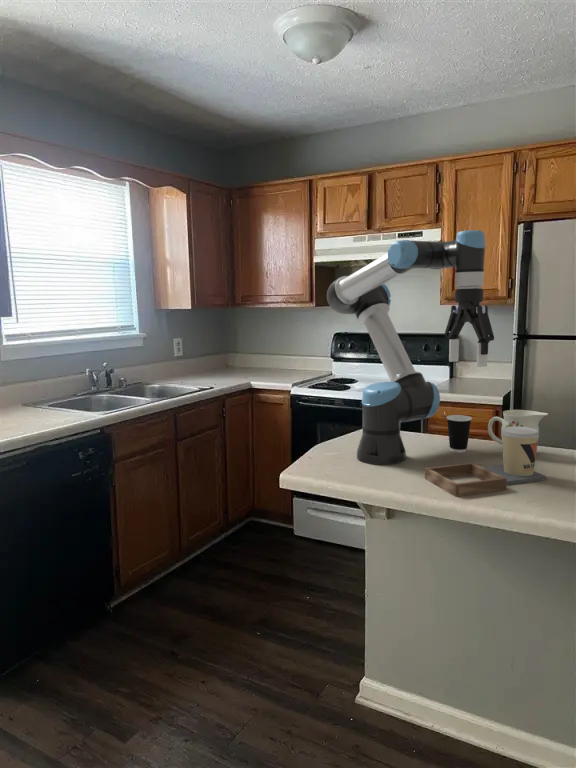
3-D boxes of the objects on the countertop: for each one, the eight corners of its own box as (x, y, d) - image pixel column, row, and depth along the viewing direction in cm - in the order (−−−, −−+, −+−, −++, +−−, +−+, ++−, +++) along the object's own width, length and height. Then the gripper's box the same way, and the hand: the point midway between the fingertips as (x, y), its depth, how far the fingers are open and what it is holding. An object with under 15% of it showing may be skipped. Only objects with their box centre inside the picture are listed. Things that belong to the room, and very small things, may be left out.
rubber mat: (475, 471, 160) (476, 467, 160) (514, 466, 163) (514, 463, 163) (505, 485, 147) (505, 481, 147) (546, 479, 151) (546, 476, 151)
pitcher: (493, 445, 187) (494, 405, 185) (550, 453, 175) (553, 411, 173) (481, 452, 178) (482, 410, 176) (540, 462, 167) (542, 417, 165)
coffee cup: (526, 479, 148) (528, 435, 147) (494, 471, 155) (495, 430, 154) (543, 472, 154) (545, 429, 153) (511, 464, 161) (512, 424, 160)
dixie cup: (476, 450, 180) (477, 417, 179) (460, 455, 176) (461, 421, 174) (455, 446, 187) (456, 413, 185) (440, 450, 182) (441, 417, 180)
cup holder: (424, 478, 154) (425, 468, 154) (471, 472, 158) (472, 462, 158) (455, 496, 140) (455, 485, 139) (506, 489, 144) (506, 478, 144)
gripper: (510, 286, 144) (507, 368, 147) (455, 288, 168) (454, 358, 171) (485, 287, 142) (482, 369, 145) (433, 289, 166) (432, 360, 169)
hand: (467, 364), depth 158 cm, fingers open, 13 cm apart
